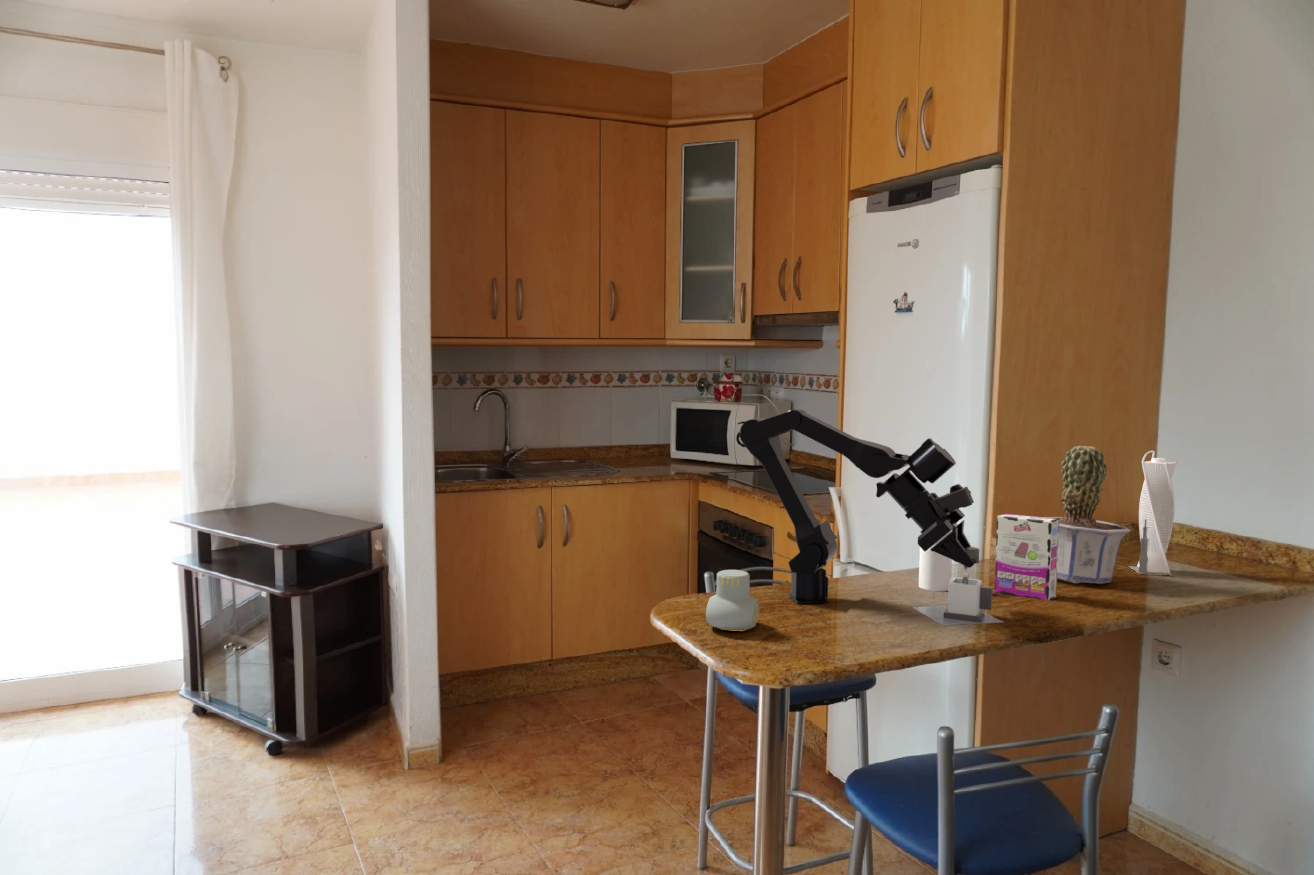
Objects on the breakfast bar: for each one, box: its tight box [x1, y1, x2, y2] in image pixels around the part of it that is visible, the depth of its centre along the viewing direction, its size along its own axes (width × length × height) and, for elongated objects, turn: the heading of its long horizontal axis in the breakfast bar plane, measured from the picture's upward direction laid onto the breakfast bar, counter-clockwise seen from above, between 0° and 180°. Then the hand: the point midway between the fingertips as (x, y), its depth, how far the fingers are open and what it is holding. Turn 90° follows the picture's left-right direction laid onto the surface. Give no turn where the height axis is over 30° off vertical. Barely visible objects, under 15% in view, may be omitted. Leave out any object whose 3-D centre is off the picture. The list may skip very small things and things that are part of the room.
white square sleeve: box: [944, 576, 994, 622], centre depth 163 cm, size 8×6×6 cm
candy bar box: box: [994, 513, 1059, 601], centre depth 182 cm, size 11×5×16 cm, turn 47°
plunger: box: [954, 546, 980, 584], centre depth 163 cm, size 4×4×8 cm
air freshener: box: [705, 569, 760, 630], centre depth 158 cm, size 11×8×10 cm
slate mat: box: [911, 605, 1005, 626], centre depth 165 cm, size 12×12×1 cm
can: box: [918, 544, 953, 592], centre depth 185 cm, size 6×6×12 cm
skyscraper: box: [1128, 449, 1178, 576], centre depth 203 cm, size 8×8×28 cm
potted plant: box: [1043, 445, 1132, 585], centre depth 195 cm, size 18×18×30 cm
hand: (974, 563), depth 162 cm, fingers open, 5 cm apart
